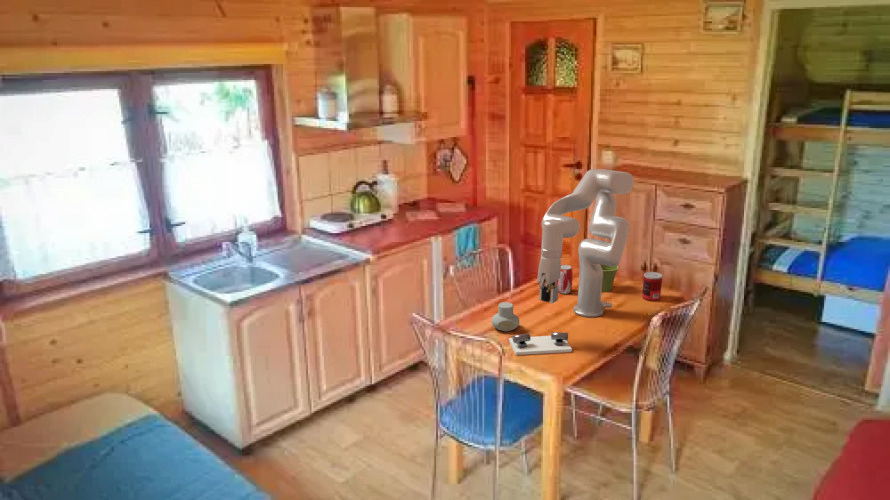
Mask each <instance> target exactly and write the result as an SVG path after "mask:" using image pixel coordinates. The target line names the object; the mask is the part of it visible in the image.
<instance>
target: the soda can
mask: <svg viewBox="0 0 890 500" xmlns="http://www.w3.org/2000/svg"><path fill="white" fill-rule="evenodd" d="M573 275H574V271H573V267H572V266H571V265H569V264H561V273H560V278H559V279H558V282H557V286H559V290H558V294H562V295H567V294H569V293H571V292H572V289H573V277H574V276H573Z"/></svg>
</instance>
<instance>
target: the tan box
mask: <svg viewBox="0 0 890 500" xmlns="http://www.w3.org/2000/svg"><path fill="white" fill-rule="evenodd" d="M544 286H546V287H547V285H544ZM558 290H559V286H555V285H551V284H550V288H549V292H550V299H549V302H547V303H550V304H554V303H556V302H557V301H559V292H558ZM541 293H542V291H541V288H540V287H539V294H538V300H539V301H541V302H543V301H542V300H541Z"/></svg>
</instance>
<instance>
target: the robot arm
mask: <svg viewBox="0 0 890 500" xmlns="http://www.w3.org/2000/svg"><path fill="white" fill-rule="evenodd" d="M634 185H635V179H634V176H633V174H631V173H630V172H628V171H627V172H626V171H619V170H613V169H612V170H611V169H604V168H601V169H599V168H591V169H589V170H587V171H586V172H585V174H584V176H583V177H581V179H580V181H579V182H578V184H577V185H576V187H575V188H574V190H573V191H572V193H570V194H567V195H566V196H563V197H560V199H558V200H556V201H554V202H553V203H552V204H551V205H550V206H549V208H548V209H547V211H546V212H545V214H544V216H543V217H542V220H541V228H542V234H541V235H542V236H541V248H540V249H541V250H540V260H539V263H538V271H537V283H538V285H539V286H538V287H539V289H540V288H541V291H542V293H541V300H542V301H541V300H540V301H541V302H546V303H548V302H549V299H550V292H549V288H550V284H551V285H555V286H557V282H558V279H559V278H560V273H561V265H562V253H563V241H564V239H567V238H568V239H569V238H574V237H576V236H577V235H578V234H579V232H580V230H581V225H580V222H579V220H578V219H576V217H570V216H567V215H566V216H565V215H564V214H568V213H571V212H577V211H582V210H586V209H588V208H590V207H591V206H592V204H593V202H594V201H595V204H594V208H593V211H592V214H591V218H590V222H589V226H588V231H589V233H590V234H591V235H592V236H595V237H598V238H604V239H607V240H611V241H605V240H602V239H597V238H592V237H591V238H584V239H583V240H581V241H580V243H579V244H578V250H577V251H578V253H577V254H578V257H579V258H578V259H579V271H578V272H579V274H578V275H579V276H578V287H577V288H578V290H577V291H578V292H577V304H575V305H574V306H573V312H574V313H575V314H577V315H578V316H582V317H584V318H586V317H588V318H597V317H601V316H602V315H604V313H605V308H610V309H611V308H612V307H613V304H612V302H608V301H602V292H603V291H602V280H603V270H602V267H601V265H605V266H610V267H615V266H617V265H618V266H619V264H620V262H621V260H622V257H623V253H624V250H625V247H626V243H627V240H628V237H629V231H630V223H629V222H628V220H627V219H626V218H624V217H621V216H616V215H615V213H616V210H617V206H618V203H617V199H616V197H615V195H626V194H629V193H631V191H632V190H633V188H634ZM600 264H601V265H600ZM544 285H547V287H546V286H544Z"/></svg>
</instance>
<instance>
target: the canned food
mask: <svg viewBox="0 0 890 500" xmlns="http://www.w3.org/2000/svg"><path fill="white" fill-rule="evenodd" d="M662 283H663V274H662V273H660V272H655V271H648V272H645V273H643V281H642V291H641V297H642V299H643V300H644V299H645V301H648V302H658V301H659V300H660V299H661V294H662Z"/></svg>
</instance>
